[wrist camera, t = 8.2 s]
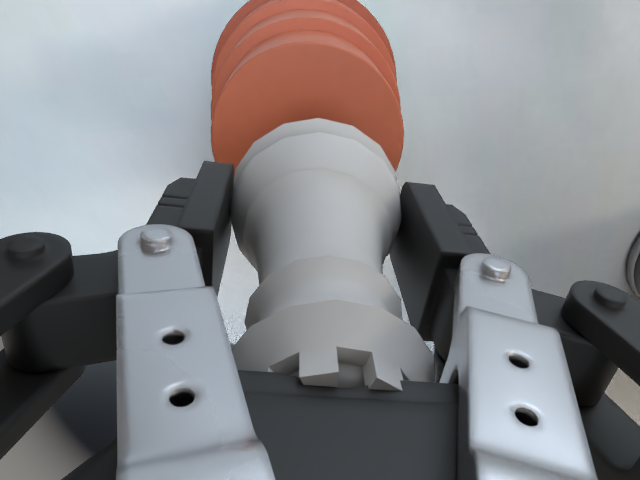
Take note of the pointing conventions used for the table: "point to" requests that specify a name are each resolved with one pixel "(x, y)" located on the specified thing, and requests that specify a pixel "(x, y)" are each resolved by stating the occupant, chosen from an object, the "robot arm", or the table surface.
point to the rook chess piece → (323, 260)
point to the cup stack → (303, 74)
